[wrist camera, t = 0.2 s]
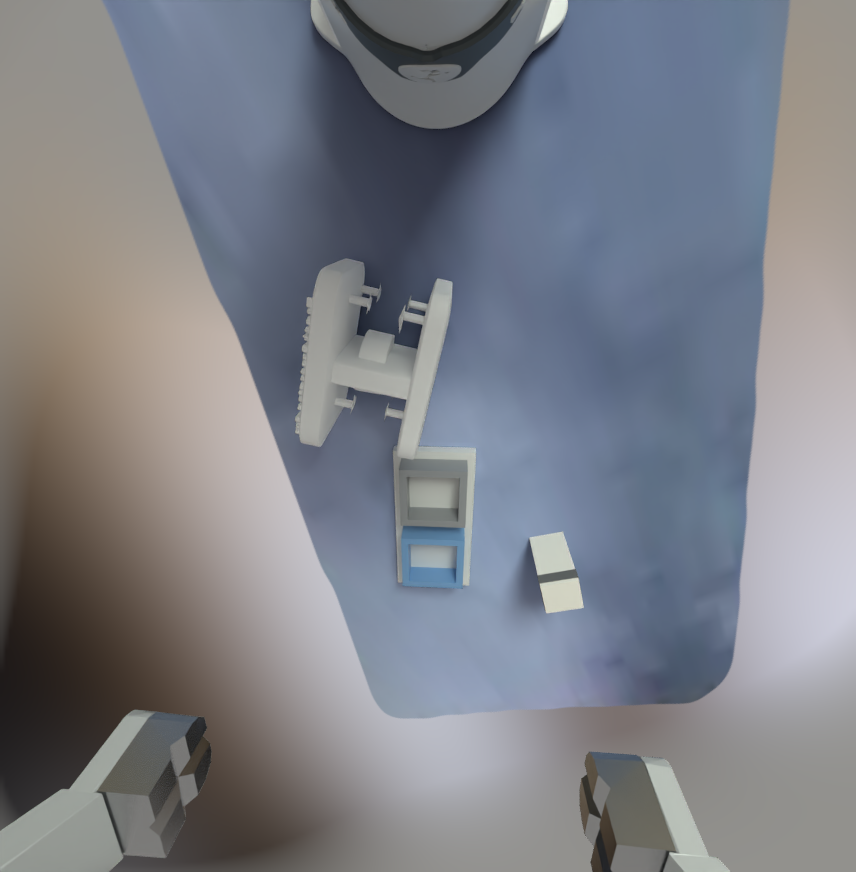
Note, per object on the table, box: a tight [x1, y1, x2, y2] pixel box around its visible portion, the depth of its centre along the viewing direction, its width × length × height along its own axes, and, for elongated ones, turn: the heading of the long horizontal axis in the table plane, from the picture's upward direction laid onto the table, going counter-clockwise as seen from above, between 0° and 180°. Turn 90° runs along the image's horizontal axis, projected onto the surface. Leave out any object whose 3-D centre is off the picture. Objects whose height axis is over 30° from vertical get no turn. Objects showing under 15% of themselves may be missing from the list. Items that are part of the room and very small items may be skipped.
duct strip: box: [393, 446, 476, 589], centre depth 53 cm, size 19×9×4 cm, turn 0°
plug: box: [529, 532, 584, 613], centre depth 52 cm, size 4×4×8 cm
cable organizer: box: [295, 258, 453, 460], centre depth 40 cm, size 15×11×12 cm
